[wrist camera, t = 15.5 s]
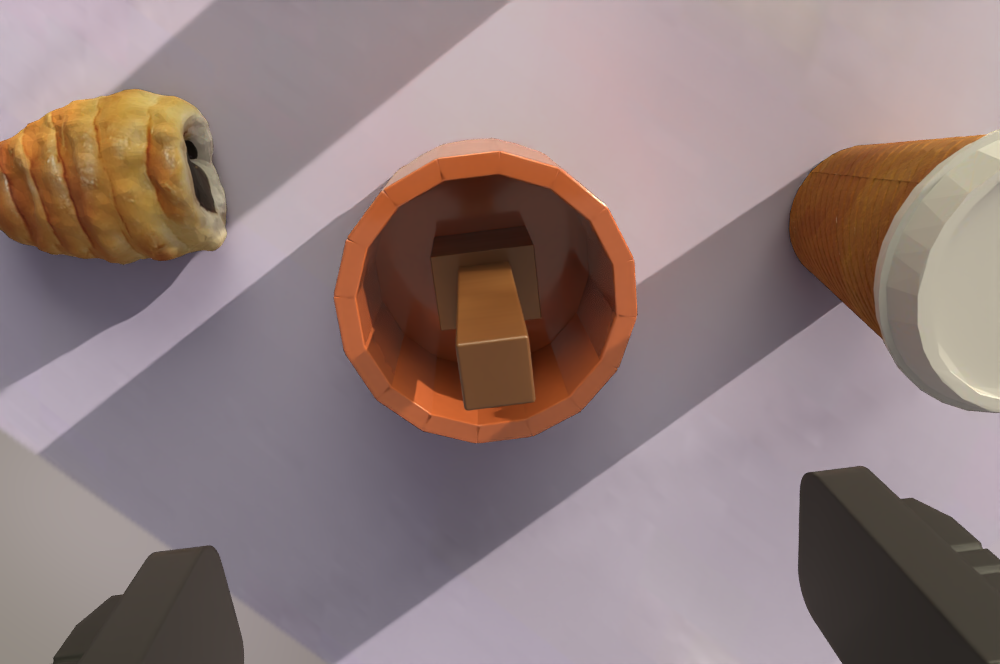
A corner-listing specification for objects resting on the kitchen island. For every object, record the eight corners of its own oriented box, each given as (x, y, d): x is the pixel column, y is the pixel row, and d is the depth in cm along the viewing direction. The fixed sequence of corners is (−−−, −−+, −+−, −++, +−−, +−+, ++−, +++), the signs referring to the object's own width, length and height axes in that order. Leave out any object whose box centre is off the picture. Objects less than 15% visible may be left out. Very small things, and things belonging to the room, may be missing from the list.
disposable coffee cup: (794, 82, 32) (981, 82, 20) (996, 133, 33) (1281, 160, 21) (724, 294, 34) (853, 398, 23) (912, 334, 35) (1124, 453, 24)
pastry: (31, 272, 33) (-23, 294, 29) (-23, 112, 30) (-89, 115, 27) (243, 242, 33) (216, 261, 29) (204, 81, 30) (169, 79, 27)
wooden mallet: (443, 302, 33) (431, 432, 21) (433, 236, 32) (415, 331, 20) (532, 291, 33) (573, 415, 21) (525, 225, 32) (564, 313, 20)
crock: (383, 387, 35) (364, 458, 28) (341, 154, 32) (308, 173, 25) (609, 359, 35) (644, 423, 28) (593, 124, 32) (627, 134, 25)
